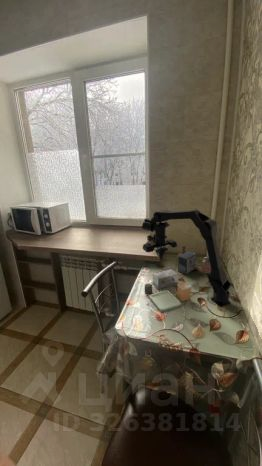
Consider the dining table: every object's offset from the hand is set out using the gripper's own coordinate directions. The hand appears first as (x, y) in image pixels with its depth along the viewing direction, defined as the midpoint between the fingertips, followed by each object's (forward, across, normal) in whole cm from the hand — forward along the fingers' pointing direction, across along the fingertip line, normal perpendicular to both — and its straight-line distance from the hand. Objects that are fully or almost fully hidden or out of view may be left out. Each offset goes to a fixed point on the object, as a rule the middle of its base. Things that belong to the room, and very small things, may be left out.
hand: (159, 259), depth 118 cm
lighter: (+12, -30, +6) cm, 33 cm away
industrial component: (+12, -24, -12) cm, 29 cm away
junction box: (+12, 0, +6) cm, 13 cm away
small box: (+12, -20, -2) cm, 23 cm away
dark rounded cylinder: (+12, +12, +10) cm, 20 cm away
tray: (+12, +8, +20) cm, 25 cm away
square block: (+12, -2, +21) cm, 24 cm away
